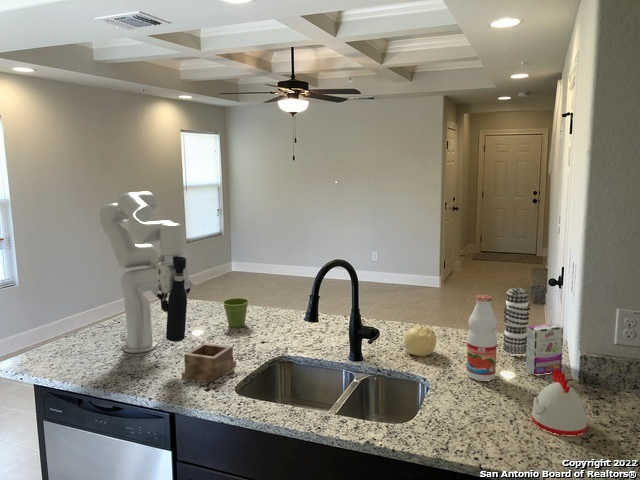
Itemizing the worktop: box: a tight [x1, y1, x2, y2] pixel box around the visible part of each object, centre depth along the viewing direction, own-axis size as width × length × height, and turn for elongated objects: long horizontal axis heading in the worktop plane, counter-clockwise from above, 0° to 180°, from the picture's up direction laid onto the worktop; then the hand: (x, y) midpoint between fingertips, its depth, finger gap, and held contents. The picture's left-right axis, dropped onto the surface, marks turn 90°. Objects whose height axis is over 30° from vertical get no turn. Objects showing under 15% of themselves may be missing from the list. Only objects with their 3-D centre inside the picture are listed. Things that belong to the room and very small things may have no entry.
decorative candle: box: [502, 287, 531, 354], centre depth 193 cm, size 9×9×25 cm
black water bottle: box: [165, 256, 188, 343], centre depth 177 cm, size 6×6×30 cm
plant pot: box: [222, 297, 250, 328], centre depth 231 cm, size 12×12×11 cm
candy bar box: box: [525, 323, 564, 374], centre depth 175 cm, size 11×5×16 cm, turn 105°
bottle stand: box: [181, 342, 237, 383], centre depth 180 cm, size 12×16×8 cm
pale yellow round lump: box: [403, 324, 437, 357], centre depth 194 cm, size 12×12×11 cm
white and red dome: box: [531, 369, 588, 435], centre depth 140 cm, size 14×14×15 cm
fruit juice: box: [466, 294, 498, 380], centre depth 171 cm, size 9×9×28 cm
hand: (174, 308), depth 180 cm, fingers closed on black water bottle, 6 cm apart
